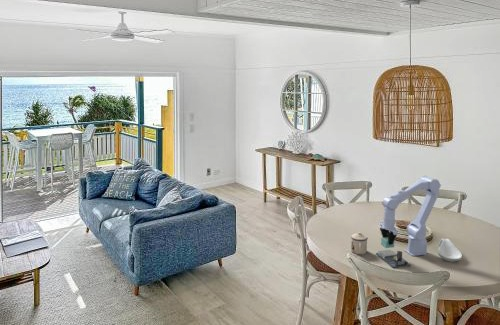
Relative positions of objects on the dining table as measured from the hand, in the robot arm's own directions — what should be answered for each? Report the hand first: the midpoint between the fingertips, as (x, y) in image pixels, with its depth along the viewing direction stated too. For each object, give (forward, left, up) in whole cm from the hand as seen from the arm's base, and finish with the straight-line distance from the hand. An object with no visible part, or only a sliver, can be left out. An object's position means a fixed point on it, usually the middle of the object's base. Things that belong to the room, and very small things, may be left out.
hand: (387, 242), depth 218 cm
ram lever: (0, +11, -7) cm, 13 cm away
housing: (0, 0, -2) cm, 2 cm away
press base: (0, +5, -8) cm, 10 cm away
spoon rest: (-33, +7, -8) cm, 34 cm away
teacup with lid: (+13, -8, -8) cm, 17 cm away
